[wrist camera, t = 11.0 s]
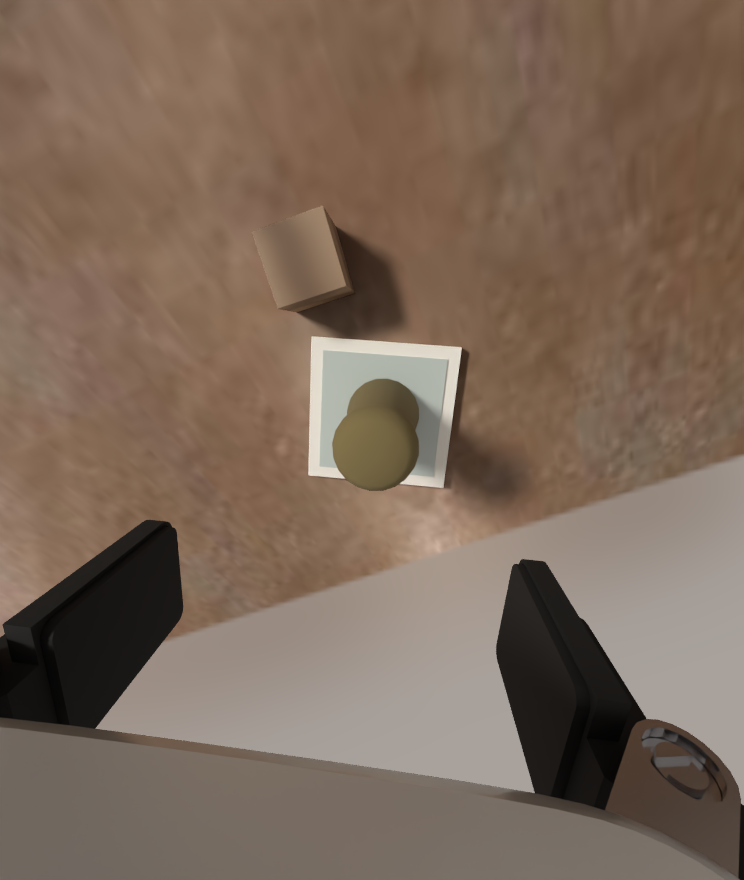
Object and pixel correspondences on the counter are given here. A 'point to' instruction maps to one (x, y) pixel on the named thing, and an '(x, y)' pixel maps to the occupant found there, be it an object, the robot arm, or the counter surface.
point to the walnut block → (304, 260)
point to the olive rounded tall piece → (378, 436)
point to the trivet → (361, 361)
